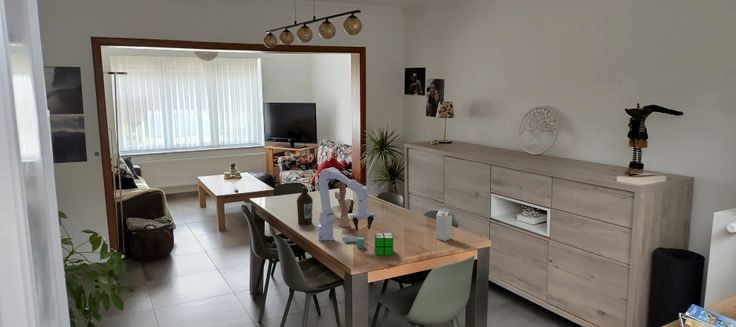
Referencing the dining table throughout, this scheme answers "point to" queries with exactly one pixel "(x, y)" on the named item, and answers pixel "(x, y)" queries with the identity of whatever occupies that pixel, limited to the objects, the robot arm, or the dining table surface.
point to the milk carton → (443, 224)
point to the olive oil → (304, 208)
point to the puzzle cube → (383, 244)
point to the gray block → (350, 239)
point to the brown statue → (343, 205)
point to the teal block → (360, 242)
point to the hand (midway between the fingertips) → (362, 229)
